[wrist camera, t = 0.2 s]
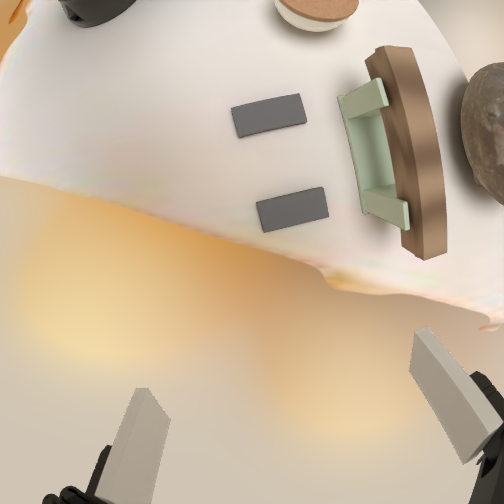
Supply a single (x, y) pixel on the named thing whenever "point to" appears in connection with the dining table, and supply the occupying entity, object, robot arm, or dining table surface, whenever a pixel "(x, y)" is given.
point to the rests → (291, 205)
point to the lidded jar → (316, 13)
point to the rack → (372, 153)
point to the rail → (412, 149)
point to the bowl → (485, 128)
